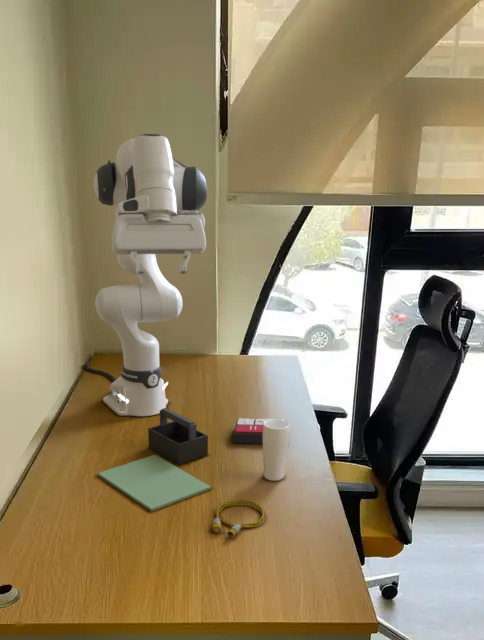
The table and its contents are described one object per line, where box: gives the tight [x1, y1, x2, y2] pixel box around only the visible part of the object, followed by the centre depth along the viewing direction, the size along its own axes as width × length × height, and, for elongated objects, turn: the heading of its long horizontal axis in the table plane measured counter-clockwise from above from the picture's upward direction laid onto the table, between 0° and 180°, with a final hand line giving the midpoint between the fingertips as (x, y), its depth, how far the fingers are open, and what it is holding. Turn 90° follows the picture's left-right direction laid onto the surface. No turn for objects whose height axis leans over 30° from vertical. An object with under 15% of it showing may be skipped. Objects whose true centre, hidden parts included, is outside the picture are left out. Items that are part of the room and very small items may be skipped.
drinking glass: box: [262, 418, 291, 482], centre depth 176 cm, size 7×7×15 cm
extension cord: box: [211, 499, 265, 539], centre depth 159 cm, size 12×16×2 cm
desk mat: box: [97, 454, 212, 513], centre depth 174 cm, size 24×18×1 cm
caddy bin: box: [147, 407, 209, 466], centre depth 189 cm, size 14×10×11 cm
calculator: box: [233, 417, 288, 444], centre depth 201 cm, size 11×4×15 cm
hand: (161, 273), depth 149 cm, fingers open, 8 cm apart
